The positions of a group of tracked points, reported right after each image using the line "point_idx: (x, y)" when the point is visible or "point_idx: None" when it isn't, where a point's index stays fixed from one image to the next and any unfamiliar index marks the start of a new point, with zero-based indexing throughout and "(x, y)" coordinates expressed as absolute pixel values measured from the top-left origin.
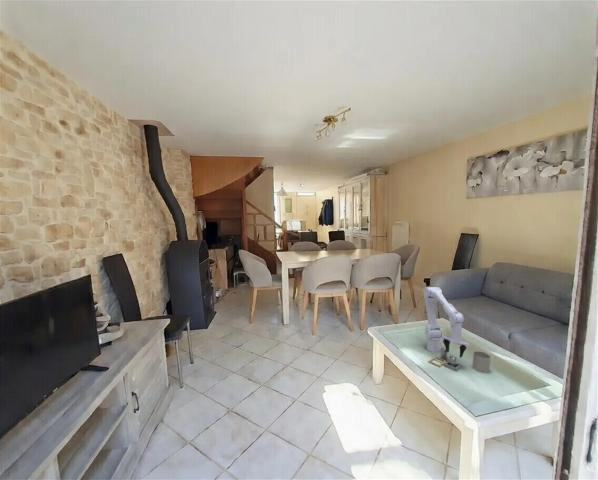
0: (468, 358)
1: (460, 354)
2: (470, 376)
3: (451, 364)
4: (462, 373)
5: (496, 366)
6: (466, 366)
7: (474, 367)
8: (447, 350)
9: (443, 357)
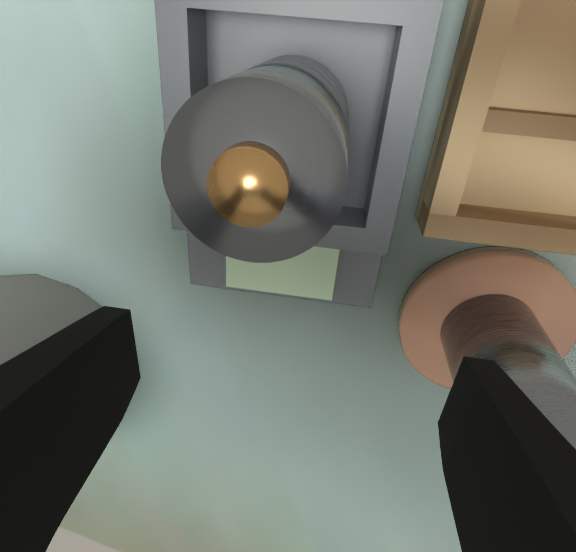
0: (252, 503)
1: (53, 352)
2: (11, 77)
3: (289, 62)
4: (124, 74)
5: None
6: (191, 338)
7: (56, 322)
8: (484, 397)
9: (502, 315)
